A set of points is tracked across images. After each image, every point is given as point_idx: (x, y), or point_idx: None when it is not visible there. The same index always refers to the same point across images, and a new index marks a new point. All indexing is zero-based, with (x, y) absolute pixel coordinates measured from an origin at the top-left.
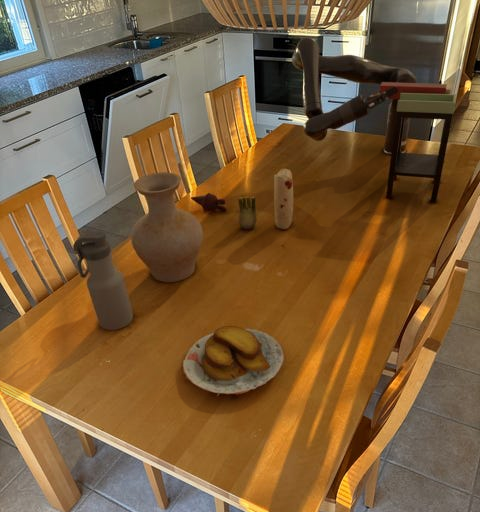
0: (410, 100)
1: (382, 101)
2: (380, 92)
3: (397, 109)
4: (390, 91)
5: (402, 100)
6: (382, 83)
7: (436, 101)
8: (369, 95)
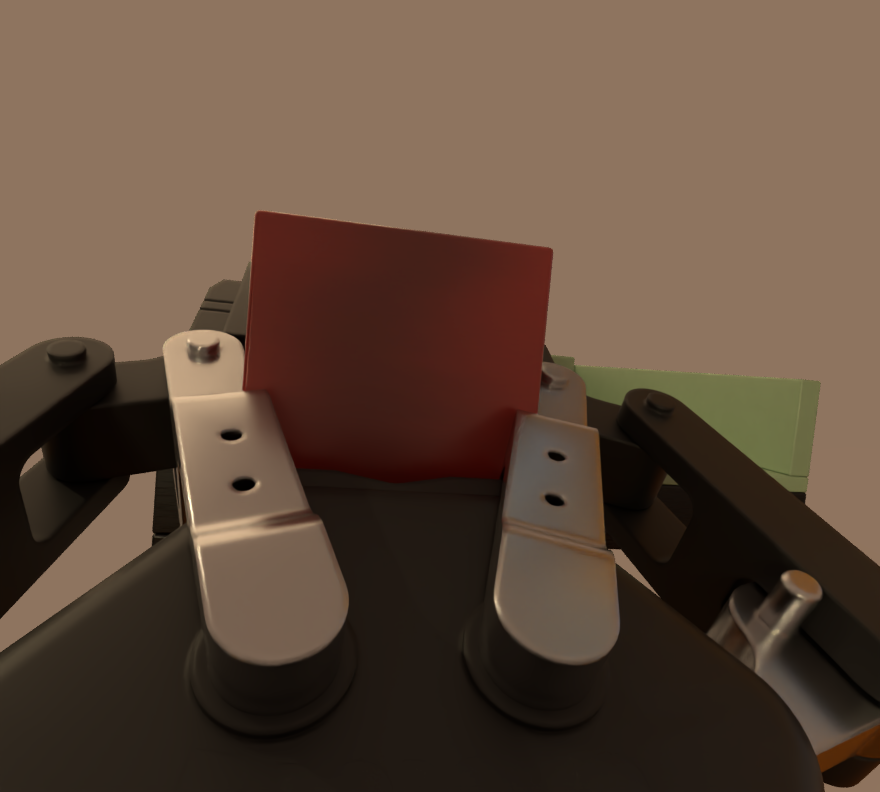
0: (722, 374)
1: (663, 513)
2: (532, 399)
3: (805, 471)
4: (544, 353)
5: (778, 378)
6: (384, 229)
7: (620, 368)
8: (335, 643)
